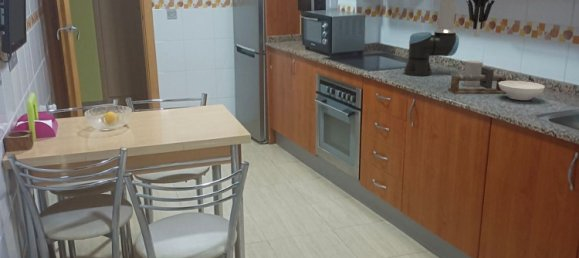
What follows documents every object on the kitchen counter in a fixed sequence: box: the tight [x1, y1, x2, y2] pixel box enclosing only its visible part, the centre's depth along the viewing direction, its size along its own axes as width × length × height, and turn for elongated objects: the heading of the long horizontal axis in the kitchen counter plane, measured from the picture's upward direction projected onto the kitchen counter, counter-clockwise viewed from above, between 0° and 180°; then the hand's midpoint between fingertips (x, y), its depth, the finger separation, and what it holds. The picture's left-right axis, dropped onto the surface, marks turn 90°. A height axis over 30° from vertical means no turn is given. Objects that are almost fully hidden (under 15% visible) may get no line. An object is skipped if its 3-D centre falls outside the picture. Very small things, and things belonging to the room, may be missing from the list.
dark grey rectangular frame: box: [479, 66, 495, 89], centre depth 259 cm, size 2×8×9 cm, turn 5°
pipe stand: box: [447, 74, 507, 95], centre depth 260 cm, size 26×8×9 cm, turn 95°
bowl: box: [498, 80, 546, 101], centre depth 246 cm, size 20×20×7 cm
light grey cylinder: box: [462, 60, 483, 88], centre depth 277 cm, size 8×8×12 cm
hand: (476, 36), depth 255 cm, fingers closed
